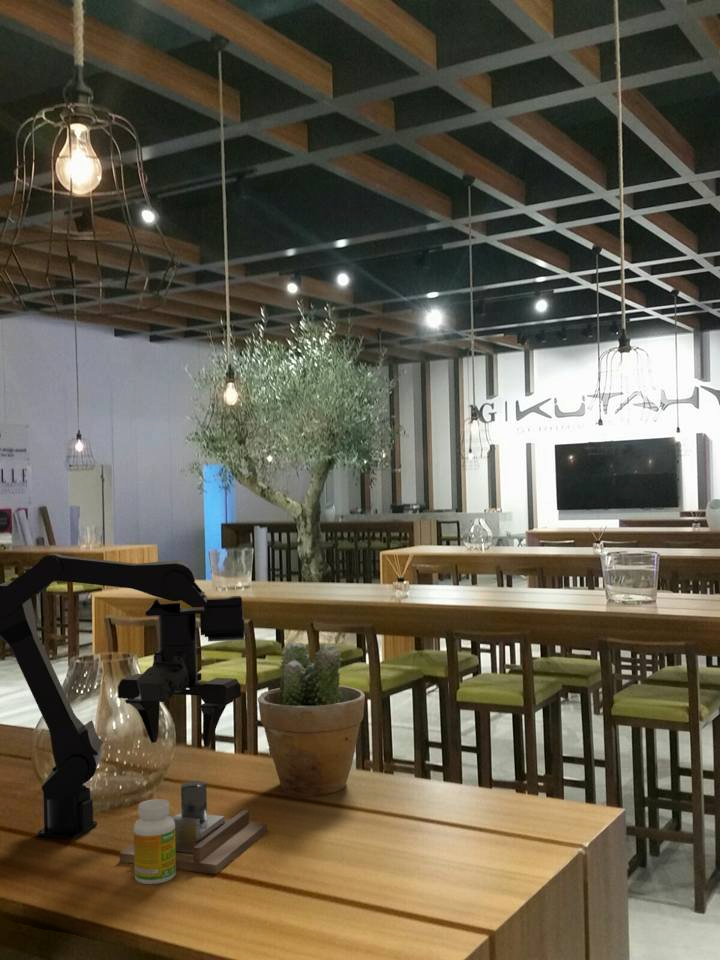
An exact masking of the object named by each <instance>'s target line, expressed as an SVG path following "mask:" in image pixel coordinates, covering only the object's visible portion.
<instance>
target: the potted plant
mask: <svg viewBox="0 0 720 960" xmlns="http://www.w3.org/2000/svg"><path fill="white" fill-rule="evenodd" d="M282 650H283V652H282V651H281V652H280V656H282V657H281V660H282V661H280V663H281V666H280V670H281V672H282V673H281V674H282V676H281V677H280V680H279V684H280V685H279V687H278V688H274V689H269V690H267V691H264V692H262V693H261V694H260V695H259V696H258V697H257V703H258V710H259V718H260V723H261V724H262V726H263V728H264V732H265V737H266V741H267V746H268V751H269V754H270V755H271V758H272V760H273V763H274V766H275V770H276V773H277V776H278V779H279V784H280V787H281V788H282V790H283V791H284V792H286V793H288V794H292V795H295V796H302V797H303V796H304V797H317V796H326V795H331V794H334V793H337V792H339V791H341V790H342V789H344V788H345V787H346V785H347V783H348V779H349V775H350V772H351V770H352V766H353V761H354V757H355V751H356V747H357V743H358V738H359V731H360V727H361V726H360V725H361V723H362V721H363V720H364V716H365V715H364V711H365V699H366V696H365V693H364V692H363V691H362V690H360V689H358V688H355V687H352V686H345V685H341V684H340V678H341V677H340V675H341V674H340V672H339V670H340V668H341V662H342V661H343V658H341V655H342V653H341V652H340V650H339V648H338V647H337V646H336V645H332V644H331V645H329V644H324V646H319V650H317V652H315V658H314V660H313V662H311V657H310V654H309V651H308V648H307V645H306V644H305V643H303V642H297V641H296V642H295V641H294V642H290V643H287V644H285V646H284V647H282Z"/></svg>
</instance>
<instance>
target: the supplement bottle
mask: <svg viewBox="0 0 720 960" xmlns="http://www.w3.org/2000/svg"><path fill="white" fill-rule="evenodd" d="M169 814H170V802H169V800H166V799H161V798H155V799H154V798H153V799H152V798H151V799H147V800H144V801H141V802H140V803H139V804H138V817H139V818H138V819H137V820H136V822H134V825H133V844H134V863H133V864H134V879H135V880H136V881H137V882H138V883H140V884H144V885H156V884H157V885H159V884H163V883H167V882H169V881H170V880H172V879H173V878H174V877H175V876H176V872H177V869H176V845H175V822H174V820H173V819H172V818H171V817H170V816H171V815H169Z"/></svg>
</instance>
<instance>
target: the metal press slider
mask: <svg viewBox="0 0 720 960" xmlns="http://www.w3.org/2000/svg"><path fill="white" fill-rule="evenodd" d="M207 797H208V796H207V783H206V781H200V780H193V781H192V780H191V781H186V782H183V783H182V784H181V785H180V805H181V806H180V808H181V810H180V811H181V812H180V813H178V814H176V815H169V816H170V817H171V818H172V819H173V820H174V822H175V845H176V851H179V852H187V853H194V852H193V847H194V846H196V845H197V844H198V843H200V842H201V841H202V840H204V839H205V838H207V837H208V836H209V835H211V834H212V833H213V832H215V831H216V830H217V829H219V828H220V827H221V826H223V825H224V824H225V823H224V819H225V816H224V815H218V814H217V815H215V814H208V802H207Z"/></svg>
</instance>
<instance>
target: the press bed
mask: <svg viewBox="0 0 720 960" xmlns="http://www.w3.org/2000/svg"><path fill="white" fill-rule="evenodd" d="M224 823H225V824H224V825H223V826H221V827H220V828H219V829H217V830H216V831H215V832H213V833H212V834H211V835H209V836H208V837H207V838H205V839H204V840H202V841H201V842H200V843H198V844H197V845H196V846H194V847H193V852H194V853H187V852H179V851H176V870H181V871H190V872H197V873H203V874H205V873H206V874H214V875H218V874H219V873H220V872H221V871H222V870H223V869H224V867H225V866H226V865H227V864H228V865H229V864H230V863H232V862H233V861H234V860H235V859H237V858H238V857H239V856H240V855H241V854H242V853H243V852H245V851H247V849H249V848H250V847H251V846H252V845H253V844H254V843H256V842H257V841H258V840H259V839H261V838H262V837H261V836H264V835H265V834H266V833H268V823H265V822H257V821H250V811H249V810H246V809H245V810H242V811H240V812H238V813H237V814H236V815H234V816H233V817H232V818H229V819H227V818H224ZM249 846H250V847H249ZM237 856H238V857H237ZM233 859H234V860H233ZM232 860H233V861H232ZM231 861H232V862H231ZM119 862H120V863H126V864H134V843H133V844H131V845H130V846H128V847H127V848H125V849H124V850H122V851H120V852H119ZM228 865H227V866H228ZM227 866H226V867H227ZM226 867H225V868H226ZM218 872H219V873H218Z"/></svg>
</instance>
